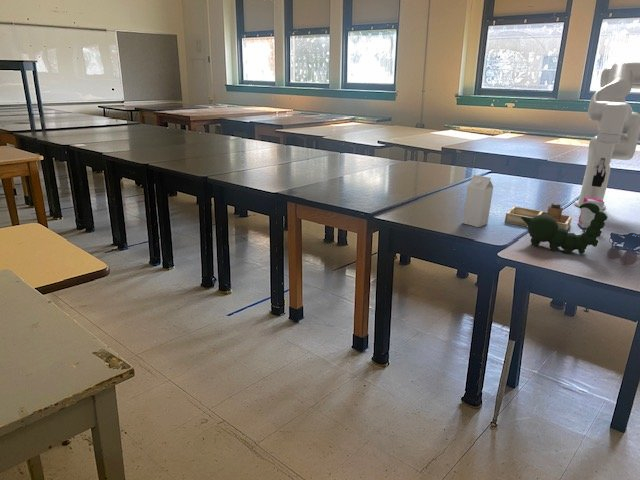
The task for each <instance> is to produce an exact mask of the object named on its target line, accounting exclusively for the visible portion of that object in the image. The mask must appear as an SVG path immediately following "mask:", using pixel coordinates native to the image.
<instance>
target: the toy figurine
mask: <svg viewBox="0 0 640 480" xmlns="http://www.w3.org/2000/svg"><path fill="white" fill-rule="evenodd" d="M578 208H579V209H582V208H588V209H590V210H591V212H593V213H595V216H594V219H593V220H591V223H590V226H588V227H587V229H585V231H584V232H582V233H581V234H575V233H574V232H568V230H566V229H564V228H562V227H559V226H558V223H557V221H556V220H555V219H554V218H553V217H551V216H549V215H544V214H543V215H537V216H535V217H533V218H530V217H521V218H522V220H523V221H524V222H525V223H526V224H527V225H528V227H527V231H528V234H529V237H531V239H530V243H531V244H532V245H534V246H538V245H540V244H541V243H546V242H548V245H549V246H548V247H549V249H550V250H553V251H554V250H556V249H558V248H562V249H563V253H564V254H567V255H568V254H570V253H571V252H573V251H575V250H577V252H578V253H579V254H582V255H583V254H584V253H585V251H586V250H587V247H589V246H592V247H593V248H594V247H597V246H598V244H599V239H597V238H600V237H601V235H602V234H603V231H602V230H601V229H604V228H605V225H606V223H605V222H606V221H607V219H608V218H609V217H608V215H607V214H606V212H604V211H602V212H599V211H600V209H599V207H598V206H597V205H596V204H593V203H584V204H582V205H581V206H580V207H578ZM562 249H561V250H562Z"/></svg>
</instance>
